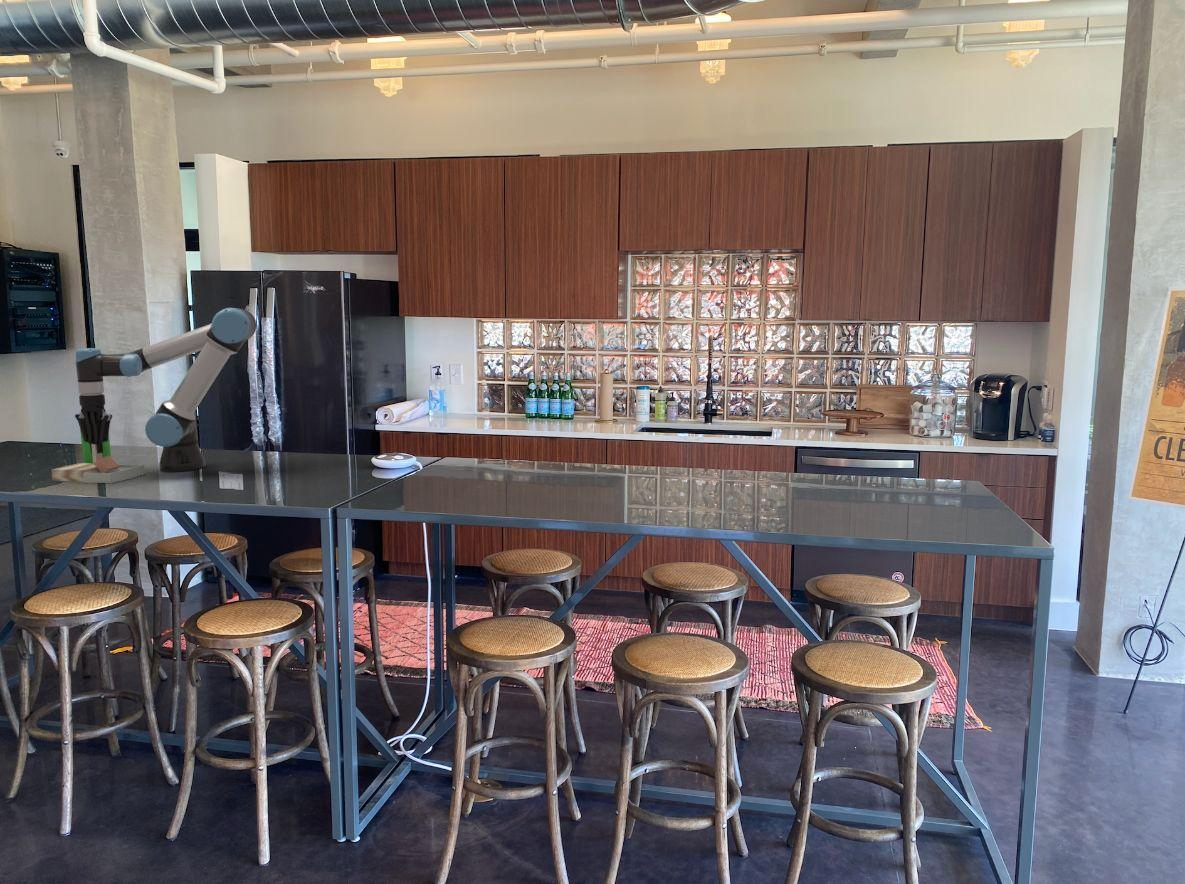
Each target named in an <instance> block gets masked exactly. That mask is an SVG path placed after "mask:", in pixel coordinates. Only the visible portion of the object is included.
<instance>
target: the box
mask: <svg viewBox="0 0 1185 884" xmlns="http://www.w3.org/2000/svg"><path fill="white" fill-rule="evenodd" d="M117 465H118V466H119V467H118V468H128V469H124V470H121V471H117V472H113V473H101V472H100V471H99V469H97V470H93V471H89V472H85V473H83V477H84V482H83V484H93V483H106V484H105V485H112V483H113V484H116V482H117V483H120V482H124V481H127V480H131V479H134V478H133V477H135V478H138V477H141V476H140V475H142V476H145V474H146V473H145V472H146V471H145V464H125V463H123V464H122V463H121V464H120V463H117ZM137 476H138V477H137ZM130 478H131V479H130ZM126 479H127V480H126ZM123 480H124V481H123ZM119 481H120V482H119ZM107 483H109V484H107Z"/></svg>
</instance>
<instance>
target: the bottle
mask: <svg viewBox="0 0 1185 884" xmlns="http://www.w3.org/2000/svg"><path fill="white" fill-rule="evenodd" d="M79 430H80V439H81V451H82V457H83V463H93V456H92V453H91V451H90V444H89V443H88V442H85V441H84V439H83V436H82V433H81V429H80V428H79ZM102 445H103V453H102V458H103V457H107V456H110V457H111V458H112V451H111V442H110V433H109V434H108V441H107V442H104V443H103V444H102Z"/></svg>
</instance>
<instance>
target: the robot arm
mask: <svg viewBox="0 0 1185 884" xmlns="http://www.w3.org/2000/svg"><path fill="white" fill-rule="evenodd" d="M256 330H257V321H256V318H255V317H254V315H253V314H252V313H251V312H250V311H248V310H246V309H244V308H240V307H238V308H236V307H227V308H222V310H219V311H218V312H217V313H216V314H215V315H214V316H213V317H212V320H211V323H209V324H205V325H204V326H201V327H198V328H195V329H193V330H190V331H187V332H183V333H182V334H179V335H176V336H173V337H171V338H167V339H164V340H161V341H159V342H156V343H153V344H151V345H148V346H144V347H141V348H139V349H136V350H133V351H130V352H125V353H118V354H117V353H116V354H115V353H113V354H112V353H111V354H106V353H105V354H104V353H102V351H101V349H100V348H98V347H97V348H93V347H90V348H89V347H88V348H86V347H85V348H78V349H76V350H75V366H76V375H77V387H78V394H80V395H79V396H78V399H79V400H78V402H79V405H80V407H81V409H80V412H79V413H76V414H74V418H75V419H76V420H77V422H78V426H79V430H80V429H81V432H80V434H81V433H82V436H83V439H84V441H85V442H88V443H89V444H90V451H91V453H92V456H93V463H95V462H96V461H97V460H98V459H99V458H102V453H103V445H102V444H103V443H104V442H107V441H108V434H109V435H110V427H111V425H110V424H111V421H112V418H113V414H108V413H107V411H106V409H105V405H106V396H105V394H104V393H105V388H104V387H105V385H104V377H138V376H140V375H141V373H143V372H145V371H147V370H150V369H152V368H156V367H158V366H161V365H164V364H167V363H169V362H172V361H175V360H178V359H181V358H183V357H187V356H190V355H191V354H196V353H198V352H199V354H198V355H197V356H196V358H195V360H194V361H193V363H192V365H191V366H190V368H189V370H188V371H187V372H186V374H185V376H184V377H183V379H182V380H181V382H180V383H179V385H178V386H177V388H176V389H175V391H174V393H173V394H172V396H171V397H170V399H167V400H163V401H162V403H161V405H160V406H159V407H158V409H157V410H156V411H155V414H153V415H152V416H150V417H149V418H148V420H147V421H146V424H145V427H144V428H145V429H144V430H145V434H146V437H147V439H148V440H149V441H150V442H151V443H152V444H154V445H155V446H158V447H162V450H161V455H160V459H159V463H158V464H159V465H158V467H159V471H160V472H170V473H171V472H186V471H193V470H198V469H203V468H205V467H206V460H205V458H204V455H203V453H202V450H201V449H200V446H199V439H198V438H199V437H198V427H197V426H198V424H197V417H196V416H197V412H196V410H197V408H198V407H199V405H200V404H201V402H202V400H203V398H204V397H205V396H206V394H207V392H208V391H209V390H210V388H211V386H213V385H212V384H213V383H214V382H215V380H216V378H217V377H218V376H219V374H220V373H221V371H222V369H223V368H224V366H225V364H226V363H227V362H228V360H229V358H230V357H231V355H235V354H238V353H239V351H240V350H241V348H242V346H243V345H244V343H245V342H246V341H247V340H249V339H251V338H252V337H253V336H254V334H255V333H256Z"/></svg>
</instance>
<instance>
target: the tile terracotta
mask: <svg viewBox="0 0 1185 884" xmlns="http://www.w3.org/2000/svg"><path fill="white" fill-rule="evenodd" d="M117 464H118V463H117V462H116V461H115V460H114V459H113V458H112V456H111V457H110V456H107V457H103V458H99V459H98V460H97V461H96V462H95V463H94V465H95V466H96V467H97V468H98V469H99V471H100V472H101V473H108V470H111V469H114V468H118V467H119V466H118V465H117Z"/></svg>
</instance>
